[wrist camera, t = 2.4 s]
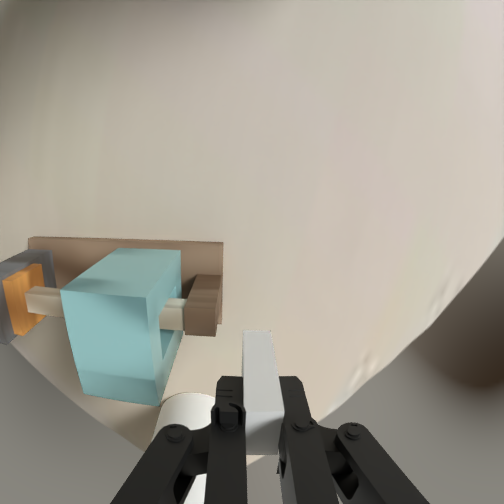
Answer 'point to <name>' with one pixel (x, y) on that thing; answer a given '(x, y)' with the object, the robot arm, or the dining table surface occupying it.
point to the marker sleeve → (124, 324)
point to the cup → (194, 417)
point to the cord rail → (85, 256)
